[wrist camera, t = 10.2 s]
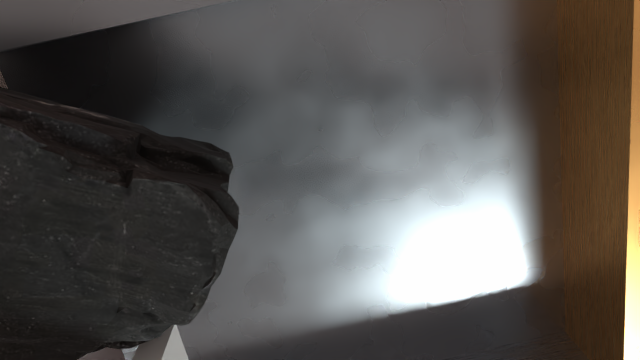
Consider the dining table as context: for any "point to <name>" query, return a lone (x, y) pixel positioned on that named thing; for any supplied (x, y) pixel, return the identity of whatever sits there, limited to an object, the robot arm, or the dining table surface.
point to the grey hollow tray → (383, 164)
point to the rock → (103, 229)
